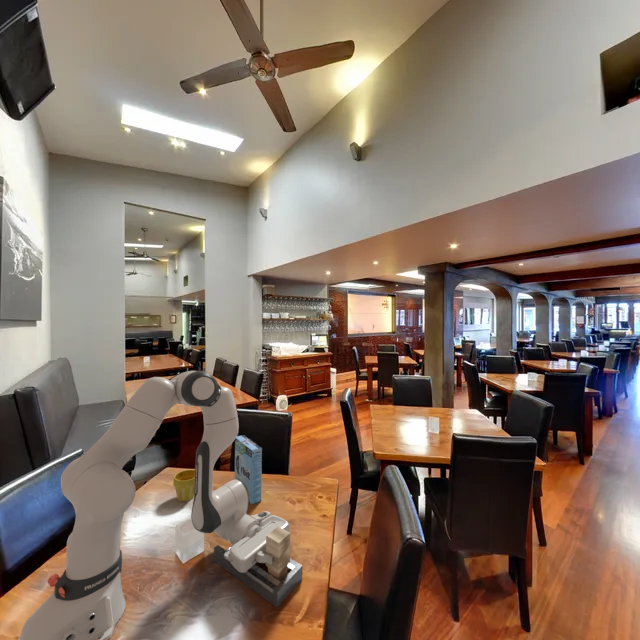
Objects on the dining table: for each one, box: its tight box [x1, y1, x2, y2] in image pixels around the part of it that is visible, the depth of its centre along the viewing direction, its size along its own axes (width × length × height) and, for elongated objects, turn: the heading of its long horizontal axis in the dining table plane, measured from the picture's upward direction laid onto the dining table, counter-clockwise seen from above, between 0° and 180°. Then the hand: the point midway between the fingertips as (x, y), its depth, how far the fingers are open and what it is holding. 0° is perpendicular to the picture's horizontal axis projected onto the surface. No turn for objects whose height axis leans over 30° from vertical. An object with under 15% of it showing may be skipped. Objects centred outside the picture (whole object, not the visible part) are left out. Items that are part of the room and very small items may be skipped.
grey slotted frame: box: [213, 544, 303, 608], centre depth 91 cm, size 11×28×4 cm, turn 56°
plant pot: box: [173, 468, 195, 502], centre depth 128 cm, size 10×10×10 cm
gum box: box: [234, 434, 263, 505], centre depth 133 cm, size 20×5×23 cm, turn 37°
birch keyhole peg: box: [265, 526, 291, 582], centre depth 86 cm, size 6×6×14 cm
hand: (280, 553), depth 85 cm, fingers closed on birch keyhole peg, 5 cm apart
